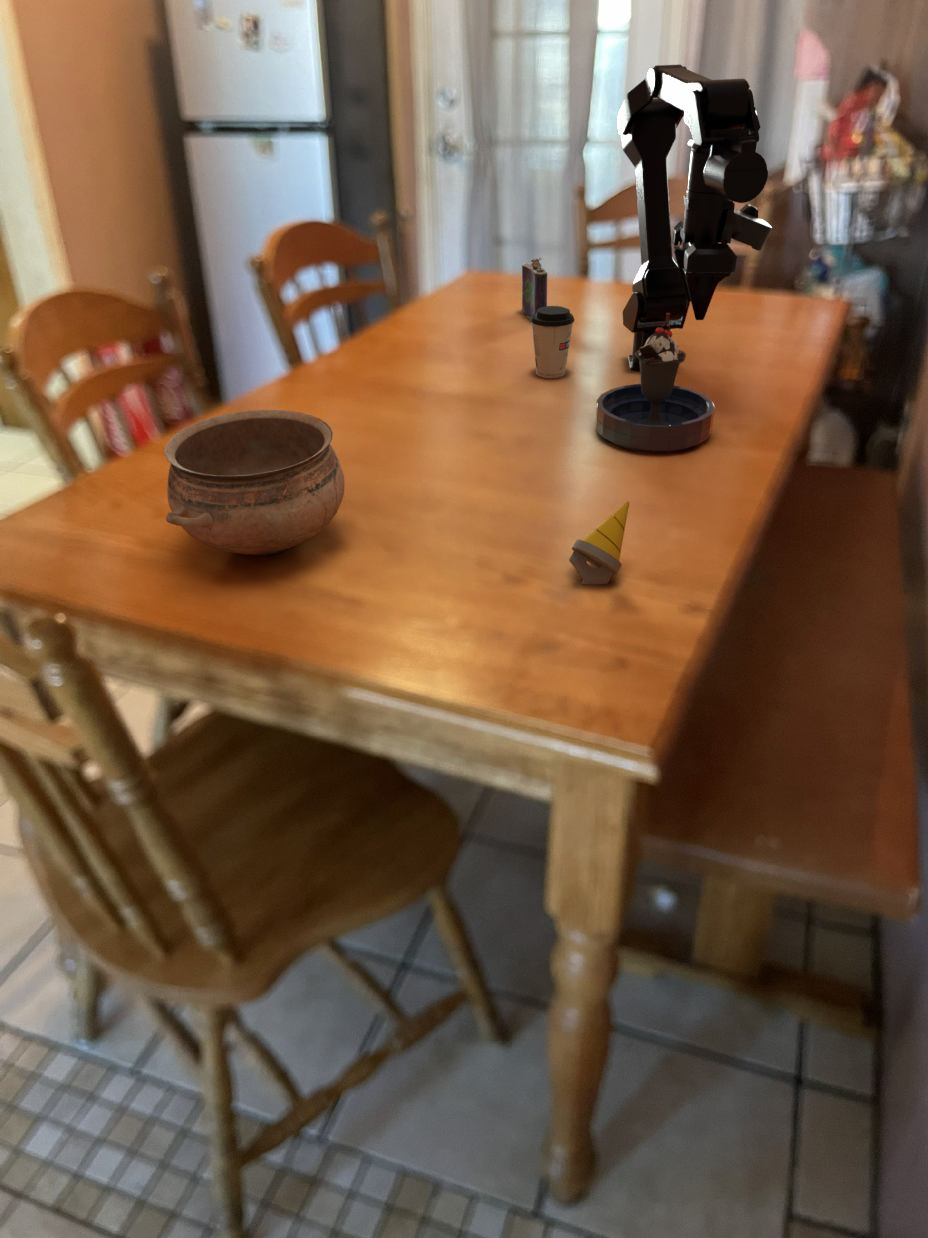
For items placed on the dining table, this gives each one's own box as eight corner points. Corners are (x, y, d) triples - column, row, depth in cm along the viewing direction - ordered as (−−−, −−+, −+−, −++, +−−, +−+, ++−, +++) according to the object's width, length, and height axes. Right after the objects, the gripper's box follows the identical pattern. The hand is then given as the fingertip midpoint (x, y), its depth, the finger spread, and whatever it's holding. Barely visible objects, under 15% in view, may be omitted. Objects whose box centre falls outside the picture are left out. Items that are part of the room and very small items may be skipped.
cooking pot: (258, 618, 90) (238, 507, 84) (123, 572, 98) (94, 468, 92) (396, 513, 108) (389, 415, 101) (272, 481, 116) (258, 388, 109)
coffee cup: (523, 377, 145) (523, 314, 140) (536, 364, 151) (538, 302, 145) (565, 382, 143) (567, 318, 137) (577, 368, 148) (580, 305, 143)
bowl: (593, 411, 133) (594, 383, 131) (702, 411, 132) (705, 383, 129) (597, 455, 120) (599, 425, 118) (718, 456, 119) (722, 426, 117)
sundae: (669, 416, 129) (681, 307, 120) (683, 434, 123) (696, 322, 115) (623, 418, 128) (632, 310, 120) (635, 437, 123) (645, 325, 114)
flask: (519, 311, 176) (520, 253, 170) (533, 309, 177) (534, 251, 171) (536, 324, 169) (537, 264, 163) (551, 323, 169) (553, 262, 163)
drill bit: (555, 573, 97) (602, 492, 97) (599, 599, 97) (646, 517, 97) (560, 568, 91) (610, 483, 92) (606, 595, 91) (656, 509, 92)
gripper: (786, 201, 112) (766, 330, 120) (758, 177, 127) (742, 292, 136) (694, 202, 113) (680, 330, 121) (677, 178, 128) (666, 292, 137)
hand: (695, 310), depth 129 cm, fingers open, 9 cm apart
